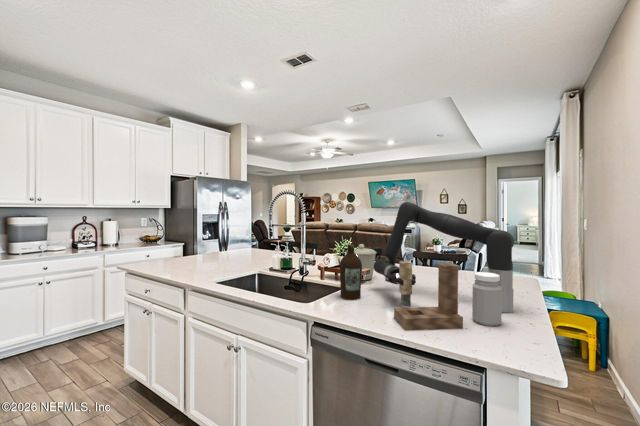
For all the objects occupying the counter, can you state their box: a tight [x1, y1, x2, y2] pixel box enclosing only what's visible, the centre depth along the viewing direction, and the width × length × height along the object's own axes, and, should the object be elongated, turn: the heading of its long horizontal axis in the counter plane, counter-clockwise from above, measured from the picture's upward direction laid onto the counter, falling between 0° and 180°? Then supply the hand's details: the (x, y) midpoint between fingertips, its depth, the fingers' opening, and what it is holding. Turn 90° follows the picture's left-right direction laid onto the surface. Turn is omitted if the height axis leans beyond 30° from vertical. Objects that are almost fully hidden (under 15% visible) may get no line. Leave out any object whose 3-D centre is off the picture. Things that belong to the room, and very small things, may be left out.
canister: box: [354, 243, 377, 281], centre depth 187 cm, size 18×18×21 cm
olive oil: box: [339, 244, 362, 301], centre depth 148 cm, size 11×11×25 cm
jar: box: [471, 271, 503, 327], centre depth 116 cm, size 10×10×18 cm
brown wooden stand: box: [393, 262, 464, 331], centre depth 114 cm, size 22×12×22 cm, turn 95°
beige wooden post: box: [398, 260, 413, 307], centre depth 129 cm, size 4×4×18 cm
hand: (408, 282), depth 126 cm, fingers closed on beige wooden post, 4 cm apart
